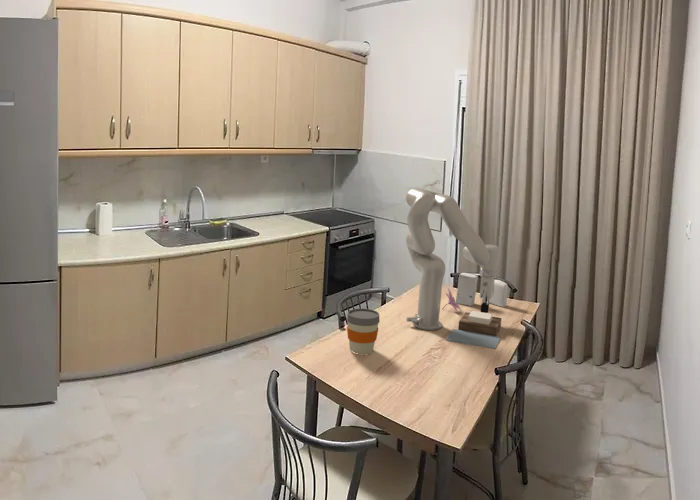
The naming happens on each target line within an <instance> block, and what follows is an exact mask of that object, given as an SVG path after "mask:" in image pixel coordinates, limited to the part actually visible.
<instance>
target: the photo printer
mask: <svg viewBox="0 0 700 500" xmlns="http://www.w3.org/2000/svg"><path fill="white" fill-rule="evenodd" d="M508 291H509V285H508V284H507V283H506V282H504V281H503V280H500V279H495V282H494V295H493V297H492V299H491V300H489V304H491V305H495V306H498V307H501V308H505V307H507V300H508Z"/></svg>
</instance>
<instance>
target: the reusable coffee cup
mask: <svg viewBox="0 0 700 500" xmlns="http://www.w3.org/2000/svg"><path fill="white" fill-rule="evenodd" d="M346 321H347V326H346V331H347V339H348V343H349V344H348V345H349V351H350V350H351V351H353V352H355V353H358V354H368V355H370V354H369V353H371V352H372V353H374V347H375V344H376V342H375V341H377V339H378V334H379V327H378V326H379V324H380V312H378V311H377V310H374V309H371V308H353V309H350V310H349V311H347V317H346ZM351 351H350V352H351ZM372 353H371V354H372ZM358 354H357V355H358Z"/></svg>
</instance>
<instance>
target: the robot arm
mask: <svg viewBox="0 0 700 500" xmlns="http://www.w3.org/2000/svg"><path fill="white" fill-rule="evenodd" d="M405 200H406V203H407V205H408V206H409V207H410V209H409V212H408V214H407V218H406V219H407V222H406V223H407V227H408V231H409V232H408V233H407V235H406V239H405V243H406V244H405V245H406V248H407V249H408V253H409V255H410V257H411V261H412V263H413V266H414V267H415V268H416V269H417V271H419V272H421V273H422V276H421V279H420V282H419V287H418V301H417V313H415V315H414V316H408V317H406V322H408V323H409V322H410V323H412V325H413V326H414V327H415V328H418V329H420V330H425V331H436V330H440V329H442V327H443V323H442V322H441V321H440V314H441V313H440V312H441V311H440V310H441V300H442V288H443V281H444V277H445V273H446V264H445V261H444V260H443V259H442V258H441V257H440V256H438V255H436V254H435V253H433V252H434V251H435V249H436V241H435V239H434V236H433V232H432V230H431V227H430V223H429V215H430V212H435V213H436V214H439V215H440V217H441V219H442V220H443V221H444V223H445V225H446V227H447V228H448V230H449V232H450V233H451V235H453V237H454V238H455V239H457V240H458V241H459V242H461V244H463V246H464V248H462V249H463V250H462V256H463V257H464V259H466V260H467V261H469V262H471V263H472V264H475V265H477V266H479V275H478V276H480V277H481V280H480V289H479V298H480V299H481V305H480V312H483V313H489V308H490V303H489V300H491V299H492V297H493V295H494V282H495V280H496V278H497V277H498V268H499V267H498V266H499V260H500V259H499V257H500V248H499V246H497V245H495V244H485V242H484V240H483V239H482V238H481V236H480V235H479V234H478V233H477V231H476V230H475V229H474V228H473V227H472V225H471V224H470V223H469V221H468V219H467V217H466V216H465V215H464V213H463V211H462V209H461V207H460V206H459V204H458V202H457V201H456V199H455V197H453V196H450V195H447V194H444V193H440V192H435V191H431V190H426V189H422V188H419V187H415V188H412V189H409V190H408V192H407V193H406V196H405Z"/></svg>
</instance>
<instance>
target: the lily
mask: <svg viewBox="0 0 700 500" xmlns="http://www.w3.org/2000/svg"><path fill="white" fill-rule="evenodd" d="M447 290H448V293H449V294H448V293H447V292H445V295H446V296H447V298H448V301H447V303H446V304H444V306H443V307H442V310H444V308H445V307H446V306H447V305H451V307H453V308H454V310H455V312H456V313H458V309H459V310H461V308H460V306H459V304H458V303H456V298H454V296H453V294H452V292H451V290H450V288H448V287H447Z"/></svg>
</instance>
